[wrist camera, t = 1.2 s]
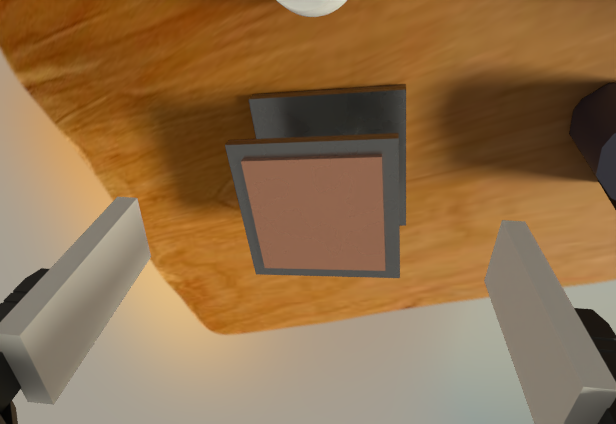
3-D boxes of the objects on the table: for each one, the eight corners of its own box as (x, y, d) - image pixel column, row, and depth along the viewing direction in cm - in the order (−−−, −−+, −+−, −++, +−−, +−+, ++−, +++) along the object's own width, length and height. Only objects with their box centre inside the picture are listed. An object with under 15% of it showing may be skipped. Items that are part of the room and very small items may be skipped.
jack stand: (405, 84, 33) (407, 133, 25) (405, 217, 39) (406, 287, 32) (252, 94, 35) (213, 141, 28) (276, 217, 42) (249, 282, 34)
